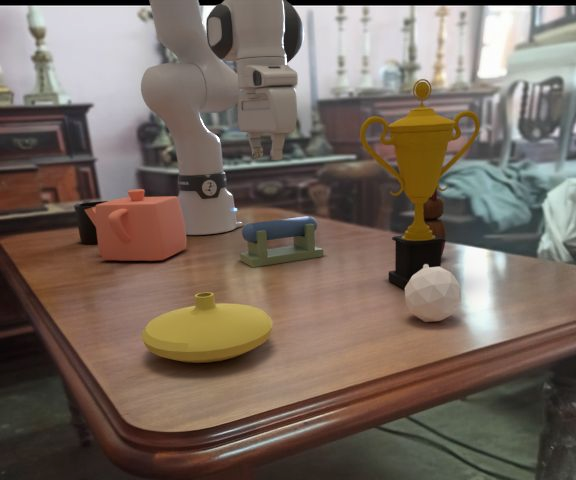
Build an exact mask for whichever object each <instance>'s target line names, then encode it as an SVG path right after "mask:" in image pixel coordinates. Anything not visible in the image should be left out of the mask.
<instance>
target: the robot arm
mask: <svg viewBox="0 0 576 480" xmlns="http://www.w3.org/2000/svg"><path fill="white" fill-rule="evenodd" d="M149 4H150V5H149V6H150V9H151V15H152V20H153V23H154V27H155V32H156V36H157V39H158V41H159V42H160V44H161V45H162V46H164V48H166V49H167V50H169V51H171V52H172V53H173V54H174V55H175V56H176V58H177V59H178V61H179V62H180V63H179V62H177V63H176V62H175V63H174V62H168V63H167V62H166V63H161V64H157V65H154V66H150V67H148V68H147V69H146V70H145V71H144V72H143V74H142V76H141V81H140V93H141V97H142V100H143V102H144V103H145V105H146V107H147V108H149V110H150V111H152V112H153V113H154V114H156V115H157V116H158V117H159V118H160V120H161V121H162V122H163V124H164V125H165V127H166V128H167V129H168V132H169V134H170V136H171V138H172V142H173V145H174V149H175V154H176V160H177V161H176V162H177V167H178V175H177V188H178V190H179V191H178V195H177V197H178V199H179V203H180V207H181V211H182V215H183V219H184V225H185V230H186V236H202V235H203V236H205V235H212V234H213V235H215V234H221V233H227V232H230V231H234V230H235V229H237V228H240V227H243V222H242V221H238V220H237V214H236V212H238V208H237V207H235V199H234V195H233V194H232V193H231V192H230V191H228V189H227V186H228V185H227V184H228V183H227V181H228V180H227V177H226V174H227V173H226V172H225V170H224V161H223V160H224V159H223V151H222V150H223V149H222V143H221V139H220V138H219V137H218V135H217V134H216V133H214V132H212V131H211V130H209V129H208V128H207V127H206V126H205V123H204V121H203V119H202V116H201V114H217V113H218V114H219V113H221V112H224V111H227V110H230V109H233V108H234V107H235V106H237V125H238V129H239V132H241V133H247V139H248V142H249V145H250V148H251V156H252V157H253V158H257V159H258V158H263V156H264V147H262V144H261V137H262V135H261V134H270V140H271V141H272V142H271V149H270V150H269V154H270V159H271V160H272V161H281V160H283V158H284V155H283V154H284V153H283V149H284V145H285V141H286V134H290V133H294V132H295V130H296V126H297V121H298V120H297V119H298V103H297V102H298V99H297V90H296V88H295V86H297V85H298V83H299V78H298V77H299V75H298V72H297V71H296V70H295V69H293V68H292V67H290V66H289V64H288V63H289V62H291V61H292V60H293V59H294V58H295V57H296V56H297V54H298V53H299V51H300V50H301V48H302V45H303V43H304V39H305V38H304V37H305V29H304V24H303V21H302V19H301V16H300V14H299V13H298V11H297V9H296V8H295V7H294V6H293V5H292V3H290V2H288V1H287V0H223V1H222V2H221V3H217V4H216V5H215V6H214V7H213V8H212V9H211V11H210V12H209V14H208V16H207V17H206V23H205V22H204V19H203V16H202V15H203V14H202V11H201V10H202V9H201V5H200V2H199V0H149ZM205 27H206V28H205ZM224 61H226V62H236V71H235V70H234V69H232V67H230V66H229V65H228V64H226V62H224Z"/></svg>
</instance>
